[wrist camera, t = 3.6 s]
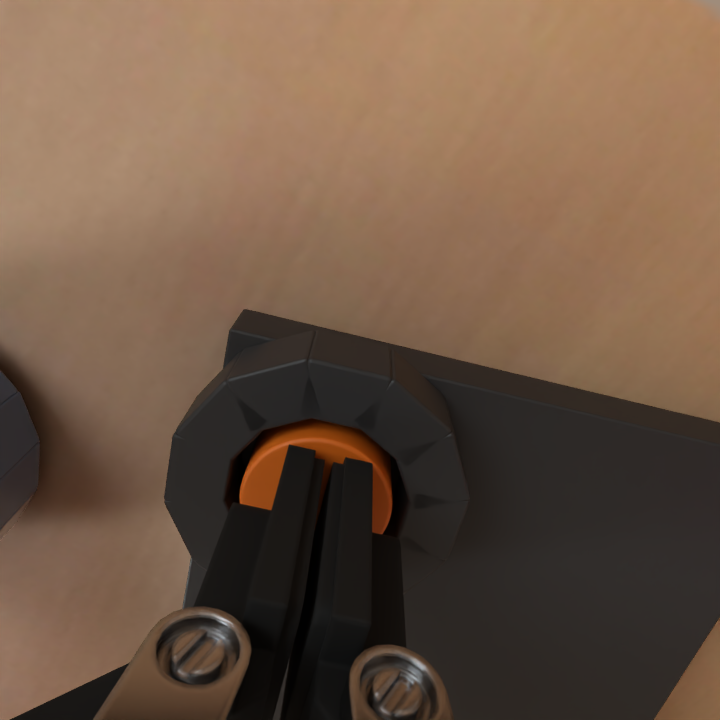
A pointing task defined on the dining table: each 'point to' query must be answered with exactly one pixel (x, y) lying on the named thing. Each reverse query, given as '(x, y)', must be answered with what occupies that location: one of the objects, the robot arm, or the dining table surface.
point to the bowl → (16, 456)
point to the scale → (489, 514)
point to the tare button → (329, 446)
